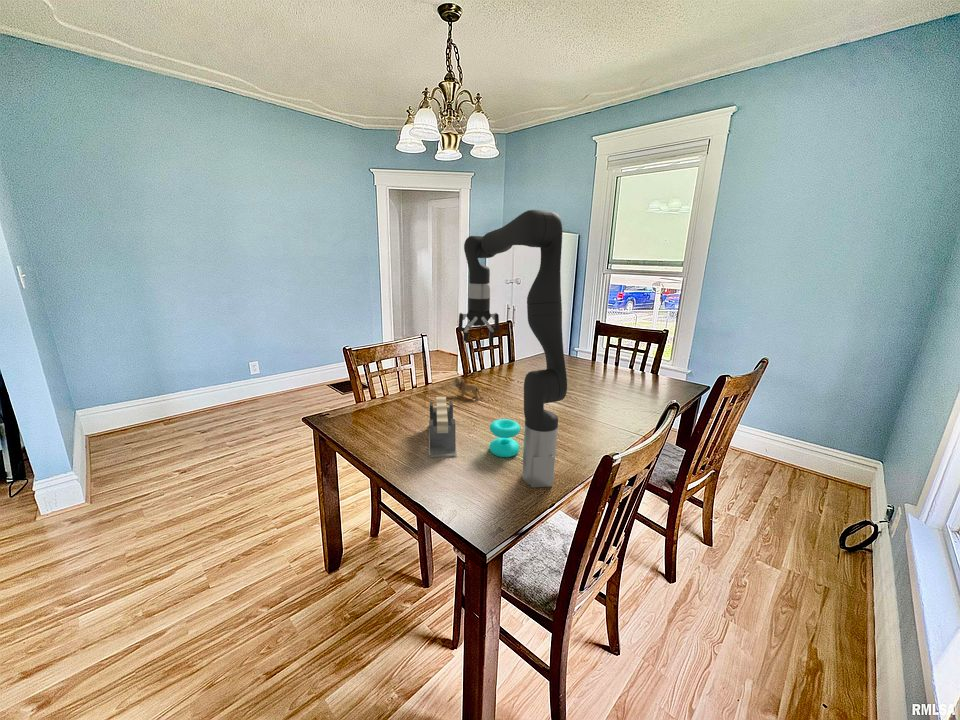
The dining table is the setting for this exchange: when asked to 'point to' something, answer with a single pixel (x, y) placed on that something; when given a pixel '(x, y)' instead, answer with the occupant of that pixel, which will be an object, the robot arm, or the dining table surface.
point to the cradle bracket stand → (442, 435)
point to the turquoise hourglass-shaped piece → (504, 437)
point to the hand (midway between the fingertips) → (478, 342)
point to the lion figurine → (466, 387)
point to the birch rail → (442, 415)
